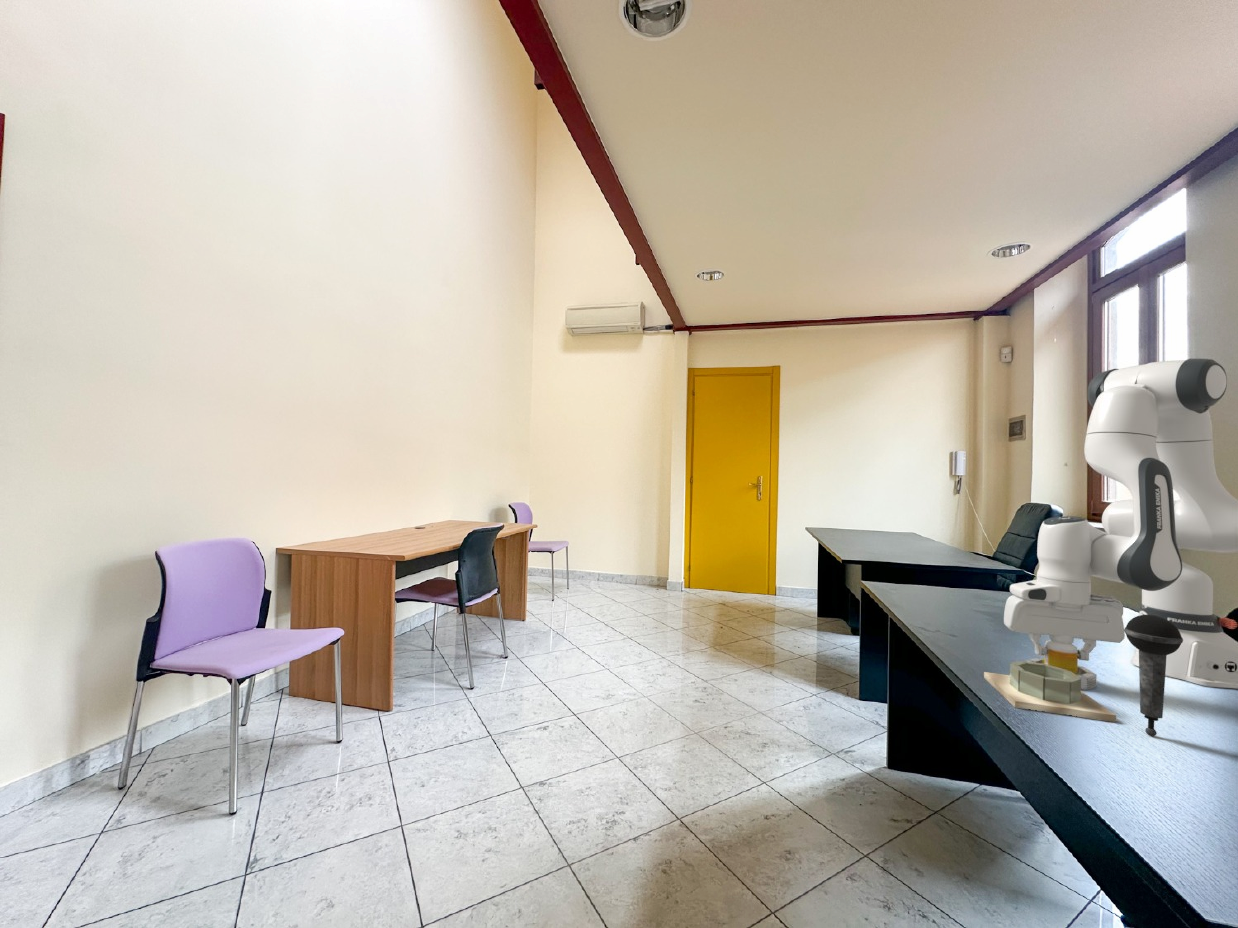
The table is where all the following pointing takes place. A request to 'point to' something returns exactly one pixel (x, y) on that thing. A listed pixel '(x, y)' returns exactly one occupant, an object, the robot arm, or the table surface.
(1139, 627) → the microphone
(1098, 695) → the table surface
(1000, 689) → the socket board
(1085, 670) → the holder ring
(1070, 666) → the supplement bottle
